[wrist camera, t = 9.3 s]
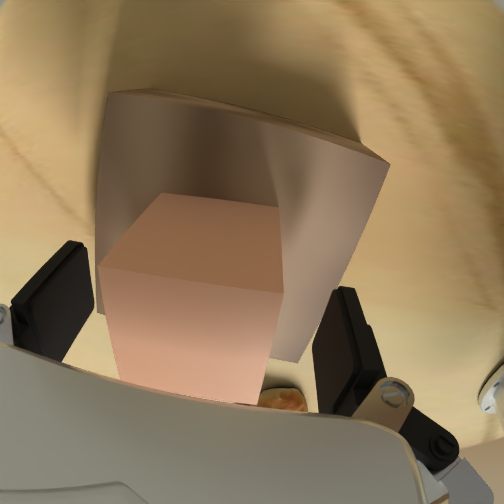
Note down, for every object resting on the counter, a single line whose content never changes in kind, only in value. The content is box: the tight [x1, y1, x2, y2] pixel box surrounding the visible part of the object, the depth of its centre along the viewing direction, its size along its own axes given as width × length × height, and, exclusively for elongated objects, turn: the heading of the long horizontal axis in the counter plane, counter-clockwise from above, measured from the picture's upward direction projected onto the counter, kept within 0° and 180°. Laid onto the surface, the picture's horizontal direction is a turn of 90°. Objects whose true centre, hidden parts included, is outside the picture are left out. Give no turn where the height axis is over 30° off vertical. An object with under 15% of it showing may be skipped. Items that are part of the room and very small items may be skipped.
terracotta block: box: [97, 193, 284, 405], centre depth 12 cm, size 5×5×6 cm
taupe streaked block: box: [95, 89, 390, 363], centre depth 17 cm, size 12×12×5 cm
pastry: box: [249, 388, 308, 412], centre depth 27 cm, size 9×7×4 cm
